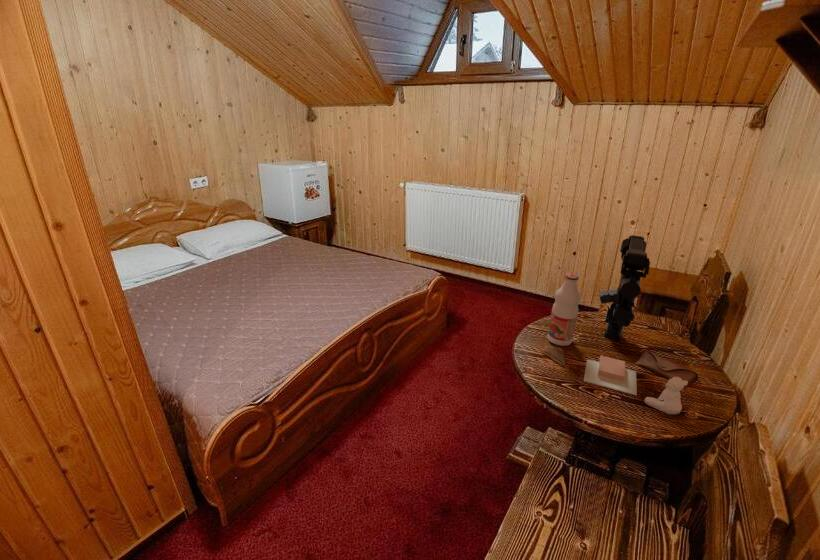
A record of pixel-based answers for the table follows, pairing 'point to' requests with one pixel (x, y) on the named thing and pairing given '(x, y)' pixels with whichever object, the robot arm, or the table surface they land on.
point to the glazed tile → (611, 369)
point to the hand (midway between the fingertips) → (618, 326)
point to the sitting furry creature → (669, 397)
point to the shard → (555, 354)
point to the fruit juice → (564, 312)
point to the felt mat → (625, 387)
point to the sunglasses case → (666, 368)
